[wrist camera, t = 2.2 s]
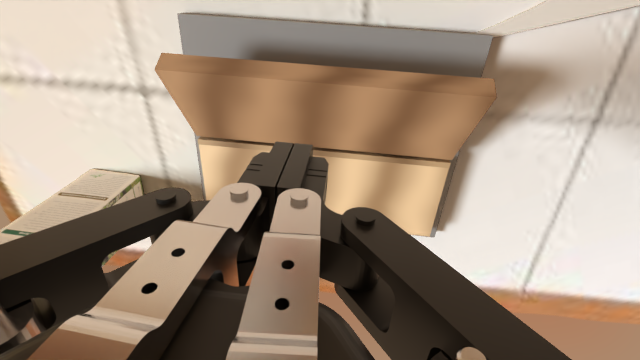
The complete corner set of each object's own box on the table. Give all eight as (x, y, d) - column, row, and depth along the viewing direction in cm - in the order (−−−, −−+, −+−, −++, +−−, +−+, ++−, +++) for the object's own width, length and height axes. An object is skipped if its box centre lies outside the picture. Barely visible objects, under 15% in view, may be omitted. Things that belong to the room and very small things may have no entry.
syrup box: (89, 167, 35) (-59, 263, 23) (143, 174, 35) (22, 275, 22) (102, 210, 38) (-23, 317, 26) (152, 217, 38) (49, 328, 25)
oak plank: (446, 155, 29) (450, 163, 28) (426, 226, 33) (429, 236, 32) (204, 132, 31) (197, 139, 29) (213, 204, 35) (207, 212, 33)
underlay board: (487, 34, 25) (493, 35, 24) (432, 230, 35) (434, 237, 34) (184, 12, 27) (177, 13, 26) (210, 206, 36) (205, 212, 35)
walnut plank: (494, 79, 21) (496, 97, 20) (450, 144, 28) (451, 160, 28) (161, 52, 22) (154, 69, 22) (201, 121, 30) (197, 136, 29)
